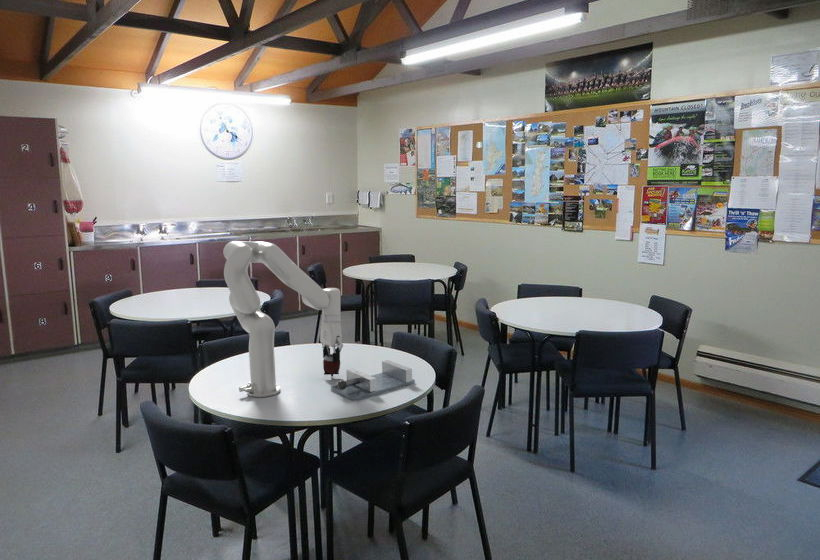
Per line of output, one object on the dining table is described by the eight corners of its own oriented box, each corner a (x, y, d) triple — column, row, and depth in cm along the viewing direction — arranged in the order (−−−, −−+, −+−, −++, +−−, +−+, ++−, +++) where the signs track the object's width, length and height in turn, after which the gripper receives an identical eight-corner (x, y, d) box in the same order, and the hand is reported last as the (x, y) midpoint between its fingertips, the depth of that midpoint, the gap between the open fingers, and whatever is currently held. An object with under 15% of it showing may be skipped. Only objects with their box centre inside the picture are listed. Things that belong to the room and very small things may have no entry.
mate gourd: (340, 376, 240) (341, 341, 239) (321, 377, 238) (322, 341, 237) (338, 371, 248) (339, 337, 246) (320, 371, 246) (320, 337, 244)
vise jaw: (350, 397, 215) (349, 385, 215) (327, 386, 228) (326, 375, 227) (376, 390, 223) (376, 378, 222) (352, 379, 235) (352, 368, 235)
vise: (354, 401, 217) (353, 384, 216) (331, 390, 229) (330, 374, 228) (414, 383, 236) (414, 368, 235) (390, 373, 248) (390, 359, 247)
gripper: (312, 315, 243) (312, 356, 246) (335, 322, 230) (335, 366, 233) (327, 313, 248) (327, 353, 251) (350, 320, 235) (350, 362, 238)
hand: (331, 359), depth 242 cm, fingers closed on mate gourd, 6 cm apart
